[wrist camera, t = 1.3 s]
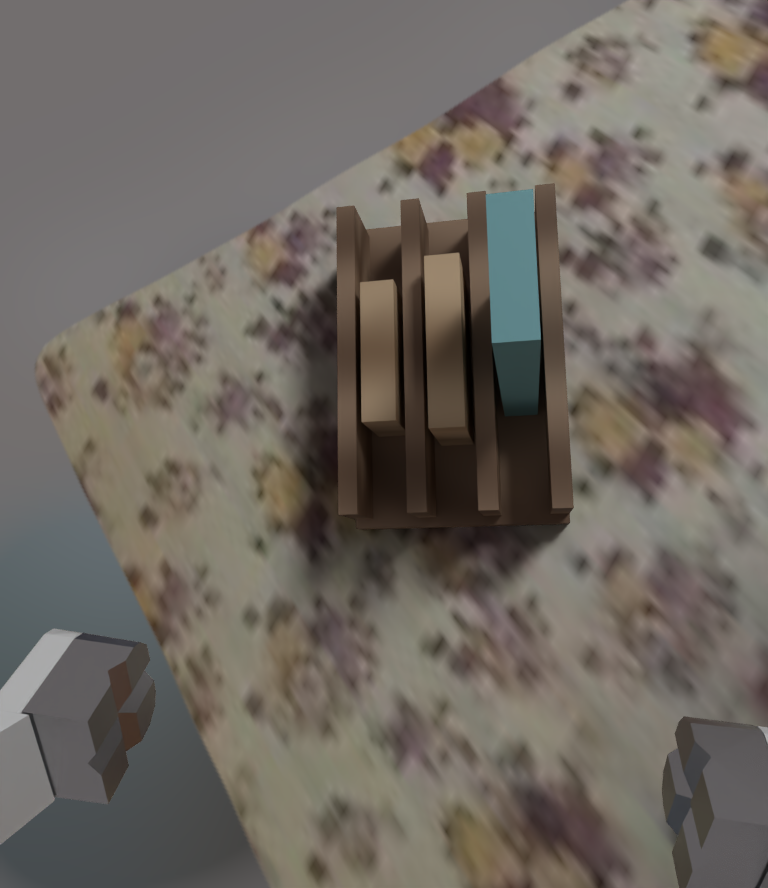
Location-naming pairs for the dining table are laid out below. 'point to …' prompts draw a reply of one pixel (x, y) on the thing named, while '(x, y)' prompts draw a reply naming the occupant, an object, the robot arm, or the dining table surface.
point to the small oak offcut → (382, 358)
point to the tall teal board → (514, 299)
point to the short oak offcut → (448, 350)
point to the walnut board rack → (495, 435)
